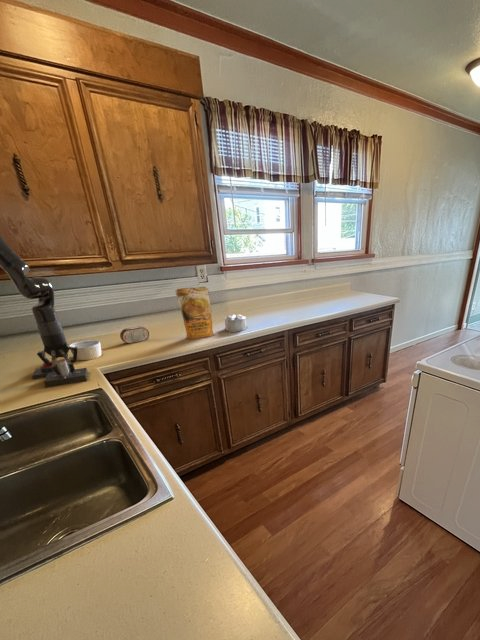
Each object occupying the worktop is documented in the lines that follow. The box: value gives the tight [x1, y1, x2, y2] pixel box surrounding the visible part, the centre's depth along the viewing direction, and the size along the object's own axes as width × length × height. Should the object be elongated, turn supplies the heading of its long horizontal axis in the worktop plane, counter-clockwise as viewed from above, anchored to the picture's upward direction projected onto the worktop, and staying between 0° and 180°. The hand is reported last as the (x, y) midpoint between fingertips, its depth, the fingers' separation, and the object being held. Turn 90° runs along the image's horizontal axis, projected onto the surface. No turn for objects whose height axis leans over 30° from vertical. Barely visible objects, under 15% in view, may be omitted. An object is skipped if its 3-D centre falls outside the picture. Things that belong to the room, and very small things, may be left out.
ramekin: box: [68, 339, 102, 361], centre depth 160 cm, size 13×13×7 cm
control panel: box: [43, 367, 89, 389], centre depth 135 cm, size 14×10×3 cm
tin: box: [119, 325, 150, 344], centre depth 183 cm, size 15×3×8 cm, turn 134°
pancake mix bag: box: [175, 286, 215, 340], centre depth 188 cm, size 7×19×28 cm, turn 122°
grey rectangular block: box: [58, 359, 70, 377], centre depth 133 cm, size 6×2×5 cm, turn 28°
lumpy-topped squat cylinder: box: [224, 313, 247, 333], centre depth 208 cm, size 10×13×9 cm
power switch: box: [31, 362, 70, 380], centre depth 141 cm, size 12×9×4 cm
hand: (65, 373), depth 134 cm, fingers open, 4 cm apart
